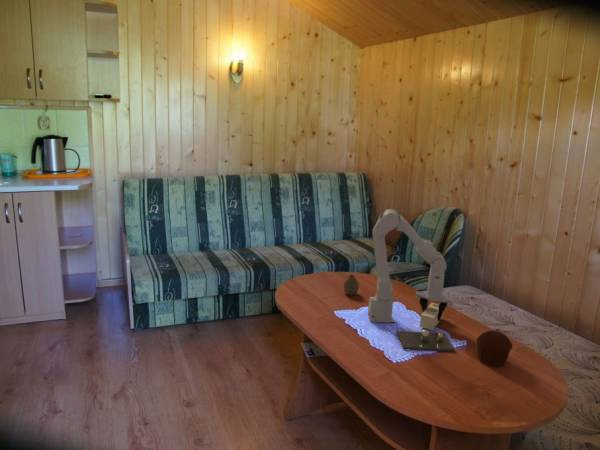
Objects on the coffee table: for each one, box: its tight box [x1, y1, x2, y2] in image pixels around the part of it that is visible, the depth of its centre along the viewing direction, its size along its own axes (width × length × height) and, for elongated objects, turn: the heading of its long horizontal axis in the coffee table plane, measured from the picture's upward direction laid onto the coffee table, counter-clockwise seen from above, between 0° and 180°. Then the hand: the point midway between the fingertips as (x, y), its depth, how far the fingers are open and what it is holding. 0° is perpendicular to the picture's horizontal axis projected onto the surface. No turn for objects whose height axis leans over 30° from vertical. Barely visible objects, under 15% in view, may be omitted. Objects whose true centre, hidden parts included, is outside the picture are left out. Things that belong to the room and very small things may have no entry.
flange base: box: [396, 328, 456, 353], centre depth 180 cm, size 18×13×4 cm
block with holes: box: [419, 302, 444, 331], centre depth 196 cm, size 15×5×5 cm, turn 150°
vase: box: [343, 274, 360, 296], centre depth 225 cm, size 7×7×9 cm
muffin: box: [476, 330, 513, 368], centre depth 168 cm, size 12×11×10 cm
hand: (431, 318), depth 196 cm, fingers closed on block with holes, 5 cm apart
